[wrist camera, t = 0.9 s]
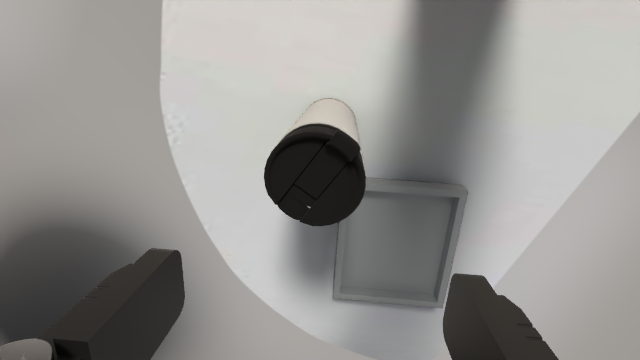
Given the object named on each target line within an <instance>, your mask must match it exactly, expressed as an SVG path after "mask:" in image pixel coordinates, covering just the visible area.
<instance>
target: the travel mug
mask: <svg viewBox="0 0 640 360" xmlns="http://www.w3.org/2000/svg"><path fill="white" fill-rule="evenodd" d="M264 180H265V187H266V190H267V193H268V195H269V196H270V198H271V199H272V200H273V202H274V203H275V204H276V205H278V207H279V209H281V210H282V211H283V212H284V213H285V214H286V215H288V216H290V217H292V218H293V219H296V220H300V222H302V223H305V224H308V225H311V226H325V225H331V224H334V223H337V222H340V221H342V220H343V219H345V218H347V217H348V216H349V215H351V214H352V213H353V212H354V211H355V210H356V208H357V207H358V206H359V205H360V203H361V201H362V199H363V196H364V192H365V188H366V176H365V170H364V160H363V155H362V150H361V145H360V139H359V134H358V129H357V124H356V119H355V116H354V113H353V112H352V110H351V109H350V107H349V106H347V105H346V104H345V103H344V102H342V101H340V100H337V99H332V98H325V99H321V100H318V101H316V102H314V103H313V104H312V105H310V106H309V107H308V109H307V110H306V111H305V112H304V113H303V114H302V116H301V117H300V118H299V119H298V120H297V121H296V122H295V124H294V125H293V126H292V127H291V128H290V129H289V131H288V132H287V133H286V134H285V135H284V136H283V138H282V139H281V140H280V141H279V143H278V145H277V146H276V147H275V148H274V149H273V151H272V152H271V154H270V156H269V157H268V159H267V162H266V166H265V172H264Z"/></svg>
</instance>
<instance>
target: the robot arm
mask: <svg viewBox="0 0 640 360" xmlns="http://www.w3.org/2000/svg"><path fill="white" fill-rule="evenodd" d="M184 299H185V292H184V281H183V270H182V259H181V254H180V252H179V251H178V250H167V249H156V248H152V249H149V250H148V251H147V252H146V253H145V254H144V255H143V256H142V257H140V258H139V259H138V260H137V261H136V262H135V263H134V264H129V265H127V266H125V267H123V268H121V269H119V270H117V271H115V272H113V273H111V274H110V275H109V276H108V277H107V278H106V279H105V280H103V281H102V282H101V283H100V284H99V285H98V286H97V288H94V289H93V290H92V291H91V292H90V293H89V294H87V295H86V296H85V299H82V300H80V301H79V303H77V304H76V305H75V306H74V307H72V308H71V309H70V310H69V311H68V312H67V313H66V314H65V315H63V316H62V317H61V318H60V319H59V320H58V321H56V322H55V323H54V324H53V325H52V326H51V327H50V328H48V329H47V330H46V331H45V332H44V333H43V334H42V335H41V336H39V337H38V338H37V339H26V340H20V341H16V342H12V343H9V344H6V345H3V346H1V347H0V360H150V359H151V358H152V356H153V354H154V353H155V351H156V350H157V349H158V347H159V346H160V344H161V343H162V341H163V340H164V338H165V337H166V335H167V334H168V332H169V331H170V329H171V328H172V326H173V325H174V323H175V322H176V320H177V319H178V317H179V315H180V313H181V311H182V308H183V305H184ZM443 333H444V338H445V342H446V345H447V347H448V350H449V353H450V355H451V358H452V360H558V358H557V357H556V356H555V354H554V353H553V351H552V350H551V349H550V347H549V346H548V345H547V343H546V342H545V341H543V340H542V337H541V335H540V334H539V333H538V331H537V330H536V329H535V328H533V327H532V323H531V322H530V321H529V319H528V318H527V317H526V315H525V314H524V313H523V311H522V310H521V309H520V308H519V307H518V306H516V305H515V304H514V303H512V302H511V301H510V300H509V299H507V298H506V297H505V296H502V295H497V294H496V293H495V291H494V290H493V288H492V287H491V285H490V284H489V283H488V281H487V280H486V278H485V277H484V276H481V275H469V274H454V275H453V276H452V279H451V283H450V288H449V293H448V298H447V302H446V307H445V312H444V317H443Z"/></svg>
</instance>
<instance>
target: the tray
mask: <svg viewBox="0 0 640 360" xmlns="http://www.w3.org/2000/svg"><path fill="white" fill-rule="evenodd" d="M467 195H468V191H467V190H466V189H465V188H464V187H463V186H462V185H456V184H443V183H430V182H417V181H404V180H392V179H379V178H366V188H365V192H364V196H363V199H362V201H361V203H360V205H359V206H358V207H357V208H356V210H355V211H354V212H353V213H352V214H351V215H349V216H348V217H347V218H345V219H343V220H342V221H340V222H339V230H338V242H337V254H336V265H335V277H334V290H333V298H340V299H350V300H361V301H371V302H382V303H392V304H403V305H413V306H424V307H434V308H443V304H444V299H445V295H446V290H447V286H448V281H449V277H450V272H451V268H452V263H453V258H454V254H455V249H456V245H457V240H458V236H459V231H460V227H461V222H462V217H463V213H464V208H465V204H466V199H467Z"/></svg>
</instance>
